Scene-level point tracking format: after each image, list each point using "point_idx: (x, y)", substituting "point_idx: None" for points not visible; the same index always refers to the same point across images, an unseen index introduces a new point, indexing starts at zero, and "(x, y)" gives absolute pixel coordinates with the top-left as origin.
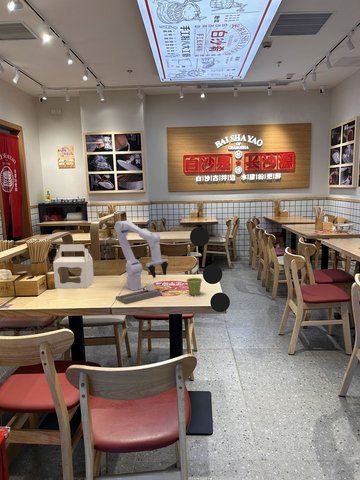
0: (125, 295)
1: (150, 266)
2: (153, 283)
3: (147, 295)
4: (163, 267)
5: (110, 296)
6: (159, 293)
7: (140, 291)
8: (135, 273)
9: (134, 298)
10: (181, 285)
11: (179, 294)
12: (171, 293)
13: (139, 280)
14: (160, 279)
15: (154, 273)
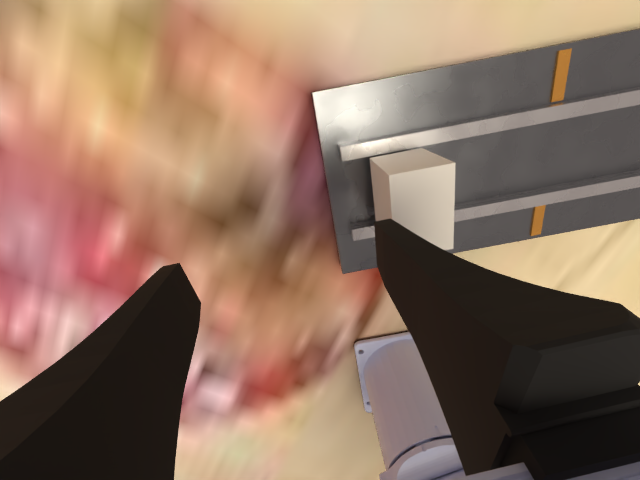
0: (635, 173)
1: (627, 415)
2: (395, 184)
3: (471, 89)
4: (142, 409)
5: (624, 280)
6: (340, 87)
7: (483, 205)
8: (463, 469)
9: (619, 65)
10: (44, 285)
11: (121, 10)
12: (198, 101)
13: (403, 394)
14: (177, 453)
15: (424, 247)
